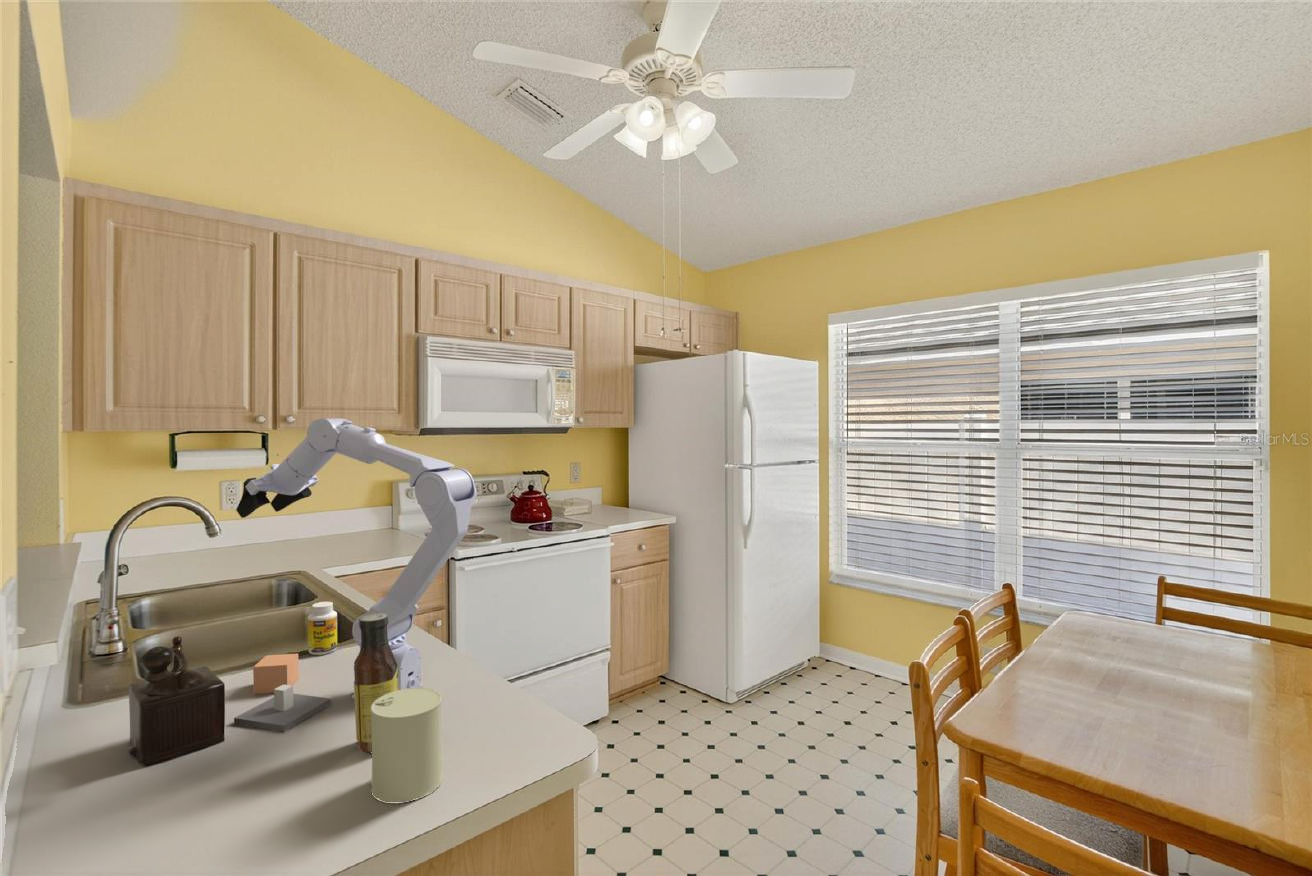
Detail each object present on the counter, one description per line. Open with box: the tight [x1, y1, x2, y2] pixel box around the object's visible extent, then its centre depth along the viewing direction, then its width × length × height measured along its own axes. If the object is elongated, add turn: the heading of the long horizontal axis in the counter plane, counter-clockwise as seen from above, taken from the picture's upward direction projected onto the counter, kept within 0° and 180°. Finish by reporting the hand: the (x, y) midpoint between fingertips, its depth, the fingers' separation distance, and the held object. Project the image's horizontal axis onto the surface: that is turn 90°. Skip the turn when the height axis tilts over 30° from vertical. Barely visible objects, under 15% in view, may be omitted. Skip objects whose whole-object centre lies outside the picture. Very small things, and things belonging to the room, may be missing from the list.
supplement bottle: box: [307, 601, 338, 656], centre depth 136 cm, size 6×6×10 cm
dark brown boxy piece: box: [128, 636, 226, 767], centre depth 96 cm, size 16×11×18 cm
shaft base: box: [233, 685, 332, 732], centre depth 108 cm, size 10×10×4 cm
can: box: [370, 687, 444, 802], centre depth 88 cm, size 9×9×12 cm
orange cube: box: [252, 653, 300, 695], centre depth 119 cm, size 6×6×5 cm
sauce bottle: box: [353, 613, 399, 753], centre depth 98 cm, size 7×6×20 cm
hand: (257, 510), depth 122 cm, fingers open, 7 cm apart
